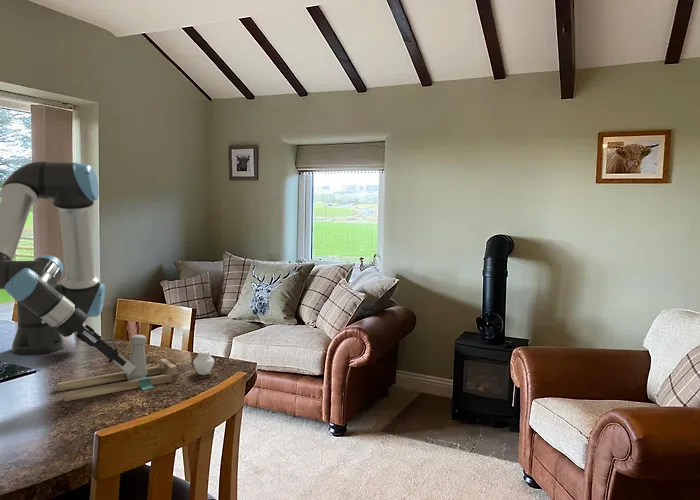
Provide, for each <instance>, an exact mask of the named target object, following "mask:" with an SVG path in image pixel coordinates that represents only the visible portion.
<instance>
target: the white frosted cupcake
mask: <svg viewBox="0 0 700 500" xmlns="http://www.w3.org/2000/svg"><path fill="white" fill-rule="evenodd" d="M192 362H193V366H194V369H195V370H196V372H197V374H198V375H200V376H201V375H203V376H205V375H209V374H210V373H211V371H212V369H213V367H214V364H215V359H214V357H212V356H211V353H210V351H207V350H202V351H198V353H197V356H196V358H195V359H194V360H193V361H192Z"/></svg>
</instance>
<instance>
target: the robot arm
mask: <svg viewBox="0 0 700 500" xmlns="http://www.w3.org/2000/svg"><path fill="white" fill-rule="evenodd" d="M99 194H100V193H99V182H98V178H97V175H96V172H95V170H94V168H93V167H92V166H91V165H89V164H87V163H79V162H64V161H63V162H61V161H59V162H58V161H42V160H41V161H39V160H38V161H34V162H33V161H31V162H29V163H26V164H24V165H23V166H20V167H19V168H17V169H16V170H14V171H13V172H12V173H11V174H10V175H9V176H8V177H7V178H6V179H5V181H4V183H3V184H2V186H1V189H0V197H1V201H0V290H5V292H6V293H7V294H8V295H9V296H10V297H12V298H13V299H14V301H16V303H17V304H16V305H17V306H16V308H17V311H16V312H17V330H16V333H15V335H14V338H13V340H12V341H13V342H12V344H11V351H12V353H13V354H15V355H24V356H25V355H26V356H27V355H28V356H29V355H40V354H47V353H48V354H49V353H52V352H56V351H59V350H61V349H63V348H64V345H65V344H64V337H65V338H67V337H70V336H72V335H74V334H75V333H77V334H76V335H75V337H76V338H77V339H79V340H80V341H81V342H84V343H85V344H87V345H88V346H90V348H92V347H94V348H95V349H96V350H98V351H99V352H100V353H101V354H103V356H104V357H106V358H108V360H107V361H108V363H114V364H115V365H116V366H117V367H118V368H119V369H121V370H123V372H126V373H128V374H130V373H131V372H132V371H133V370H134V369H135V368H136V366H135V365H133V364H132V363H131V362H130V361H128V360H129V359H127V358H126V357H125V356H124V355H122V354H121V353H119V352H118V351H119V349H118V348H117V347H116V348H113V347H112V346H110V345H109V344H108V343H106V342H105V341H104V340H103V339H102V338H101V337H102V336H101V335H100V334H98V333H97V332H96V331H95V329H93V328H92V327H91V326H90V325H89V324H86V325H85V326H84V323H85V322H86V320H87V318H96V317H99V316H101V314H102V311H103V307H104V302H105V296H106V284H104V283H102V282H101V283H100V278H99V276H97V275H95V271H94V260H93V259H94V257H93V246H92V233H91V232H92V231H91V220H90V209H91V208H92V207H93V206H94V203H95V201H97V200H98V199H99ZM42 199H44V200H52V205H53V207H54V208H55V209H57V210H58V212H59V222H60V231H61V232H60V233H61V240H62V251H63V260H64V261H63V262H62V261H61V260H60V259H59V258H58V257H56V256H55V255H51V254H44V255H40V256H39V257H37V258H35V259H34V260H14V256H15V255H16V251H17V248H18V246H19V243H20V240H21V237H22V234H23V231H24V228H25V225H26V223H27V219H28V216H29V213H30V211H31V208H32V207H33V206H35V204H37V202H38V200H42ZM63 263H64V265H63ZM63 271H65V272H63ZM63 273H65V277H64V278H63V279H62V275H63ZM61 279H62V280H61ZM60 281H61V282H60ZM59 282H60V283H59ZM58 283H59V284H58Z"/></svg>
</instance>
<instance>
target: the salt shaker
mask: <svg viewBox="0 0 700 500" xmlns="http://www.w3.org/2000/svg"><path fill="white" fill-rule="evenodd" d="M129 341H130V345H131V348H130V353H129V356H128V359H127V360H128V361H130V362H131V363H132V364H133V365H135V366H136V368H135V369H134V370H133V371H132V372H131V373H130V374H128V373H126V376H127V378H128V379H127V381H131V380H136V379H140V378H145V377H147V376H146V375H147V368H148V366H147V358H146V352H145V344H147V337H146V335H144V334H135V335H131V336H130V339H129Z"/></svg>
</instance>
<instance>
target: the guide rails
mask: <svg viewBox="0 0 700 500" xmlns="http://www.w3.org/2000/svg"><path fill="white" fill-rule="evenodd" d="M159 374H160V375H159ZM153 375H155V376H153ZM123 380H124V381H123ZM125 380H126V381H125ZM177 380H178V366H176V365H175V364H174V363H172V362H171V361H169V360H168V359H167V358H160V359H159V365H155V366H151V367H147V375H146V377H145V378H140V379H136V380H131V381H128V378H127V376H126V372H125V371H120V372H113V373H107V374H103V375H101V374H100V375H96V376H90V377H84V378H83V377H82V378H77V379H71V380H67V381H61V382H60V381H59V382H56V390H57V392H62V394H63V395H62V397H63V399H62V400H63V401H64V402H69V401H74V400H79V399H80V400H81V399H84V398H85V399H86V398H89V397H95V396H101V395H106V394H112V393H116V392H121V391H123V392H124V391H128V390H133V389H137V388H140V390H142V391H149V390H153V389H155V387H154V386H155V385H158V384H159V385H160V384H164V383H171V382H175V381H177ZM108 383H110V384H108ZM103 384H104V385H103ZM89 386H93V387H89ZM85 387H87V388H85ZM80 388H82V389H80ZM74 389H76V390H74ZM68 390H70V391H68Z"/></svg>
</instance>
